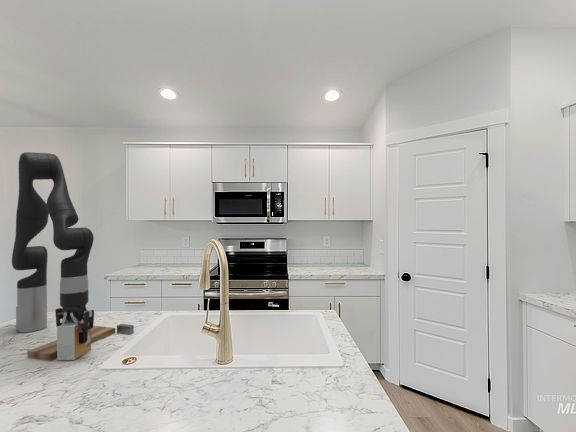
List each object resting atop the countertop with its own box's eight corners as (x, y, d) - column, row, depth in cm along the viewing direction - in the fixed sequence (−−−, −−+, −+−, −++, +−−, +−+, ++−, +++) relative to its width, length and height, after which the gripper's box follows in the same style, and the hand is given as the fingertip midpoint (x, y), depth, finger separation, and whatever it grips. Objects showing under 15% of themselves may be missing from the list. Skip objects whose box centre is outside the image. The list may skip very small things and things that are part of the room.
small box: (74, 360, 94) (74, 326, 94) (56, 360, 94) (56, 326, 94) (91, 349, 102) (91, 318, 102) (75, 349, 102) (75, 318, 102)
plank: (27, 357, 97) (27, 350, 97) (95, 330, 120) (95, 325, 120) (50, 361, 94) (50, 354, 94) (115, 333, 117) (115, 327, 117)
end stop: (116, 333, 117) (116, 325, 117) (121, 331, 119) (121, 323, 119) (129, 334, 115) (129, 326, 115) (133, 332, 117) (133, 325, 117)
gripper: (46, 291, 97) (46, 344, 96) (80, 293, 92) (80, 349, 92) (69, 286, 104) (69, 335, 104) (102, 288, 99) (102, 339, 99)
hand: (74, 341), depth 98 cm, fingers closed on small box, 6 cm apart
